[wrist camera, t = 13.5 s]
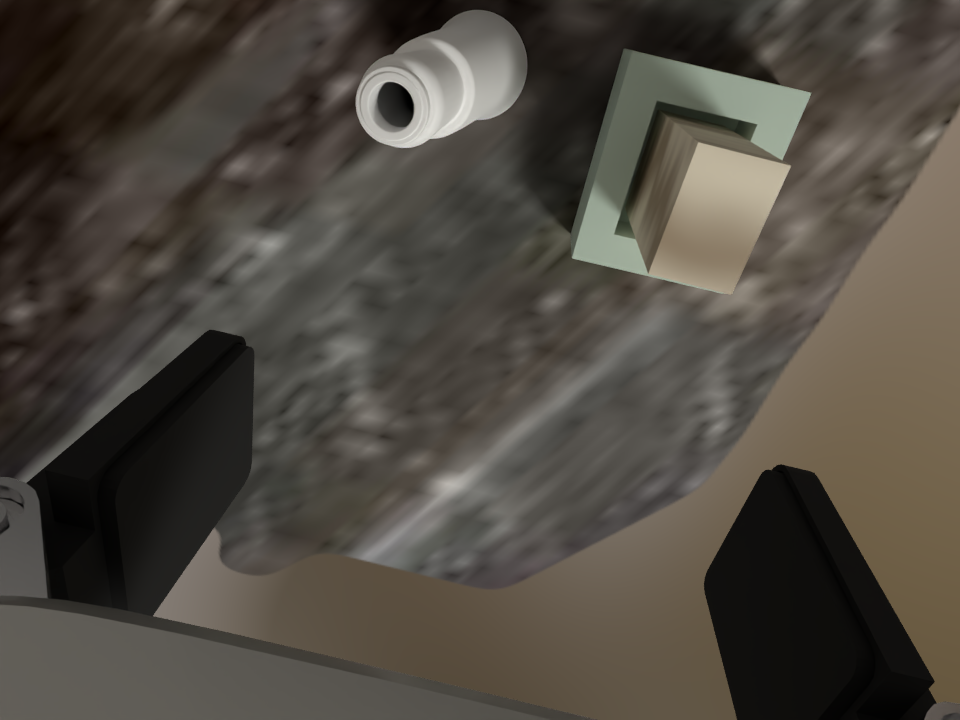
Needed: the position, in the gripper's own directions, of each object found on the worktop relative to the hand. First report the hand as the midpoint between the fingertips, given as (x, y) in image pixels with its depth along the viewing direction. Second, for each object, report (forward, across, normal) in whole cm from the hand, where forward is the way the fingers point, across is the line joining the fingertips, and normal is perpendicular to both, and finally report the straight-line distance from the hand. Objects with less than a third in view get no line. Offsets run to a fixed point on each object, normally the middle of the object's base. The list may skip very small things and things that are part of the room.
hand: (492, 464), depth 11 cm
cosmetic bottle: (+32, +5, -4) cm, 33 cm away
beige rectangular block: (+31, -8, -1) cm, 32 cm away
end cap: (+32, -8, -1) cm, 33 cm away
